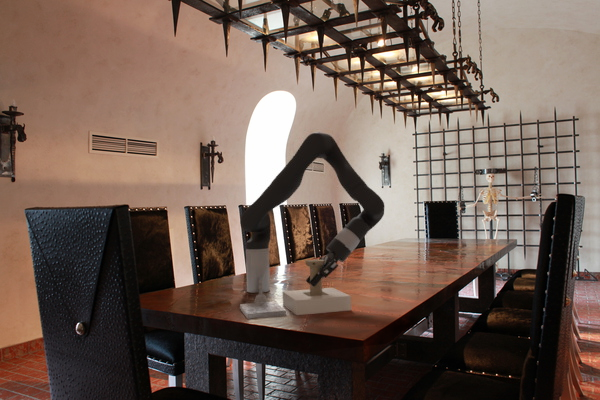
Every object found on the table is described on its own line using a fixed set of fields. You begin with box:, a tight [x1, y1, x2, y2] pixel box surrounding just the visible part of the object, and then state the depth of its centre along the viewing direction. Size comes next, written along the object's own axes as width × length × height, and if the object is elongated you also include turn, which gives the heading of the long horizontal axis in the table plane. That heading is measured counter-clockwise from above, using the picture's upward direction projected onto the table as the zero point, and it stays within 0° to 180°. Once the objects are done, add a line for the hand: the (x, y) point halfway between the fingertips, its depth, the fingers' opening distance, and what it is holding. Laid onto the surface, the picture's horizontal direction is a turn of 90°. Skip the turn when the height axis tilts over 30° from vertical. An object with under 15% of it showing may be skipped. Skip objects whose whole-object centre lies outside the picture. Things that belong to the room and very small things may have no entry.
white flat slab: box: [239, 300, 287, 320], centre depth 154 cm, size 16×12×2 cm
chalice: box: [249, 249, 270, 303], centre depth 172 cm, size 7×7×18 cm
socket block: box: [282, 287, 352, 316], centre depth 159 cm, size 18×18×4 cm
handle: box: [304, 259, 325, 296], centre depth 159 cm, size 5×6×15 cm
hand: (310, 283), depth 158 cm, fingers closed on handle, 3 cm apart
